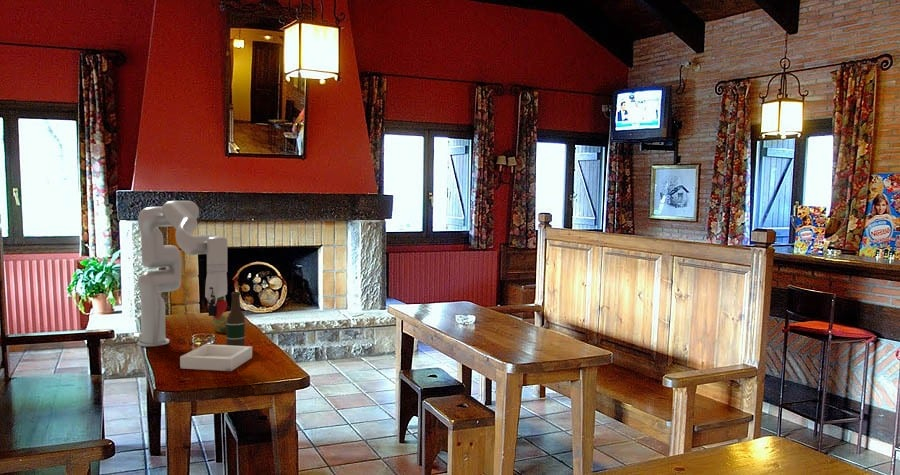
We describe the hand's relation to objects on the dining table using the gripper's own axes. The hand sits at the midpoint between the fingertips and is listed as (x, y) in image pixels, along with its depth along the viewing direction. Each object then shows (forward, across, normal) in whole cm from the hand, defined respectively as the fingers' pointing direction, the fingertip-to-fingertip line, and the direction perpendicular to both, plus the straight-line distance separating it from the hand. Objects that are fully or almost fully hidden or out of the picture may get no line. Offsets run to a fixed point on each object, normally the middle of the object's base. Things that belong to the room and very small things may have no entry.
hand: (217, 313), depth 254 cm
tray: (+19, 0, 0) cm, 19 cm away
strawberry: (+2, 0, 0) cm, 2 cm away
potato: (+20, -52, -22) cm, 60 cm away
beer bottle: (+20, -24, -3) cm, 31 cm away
